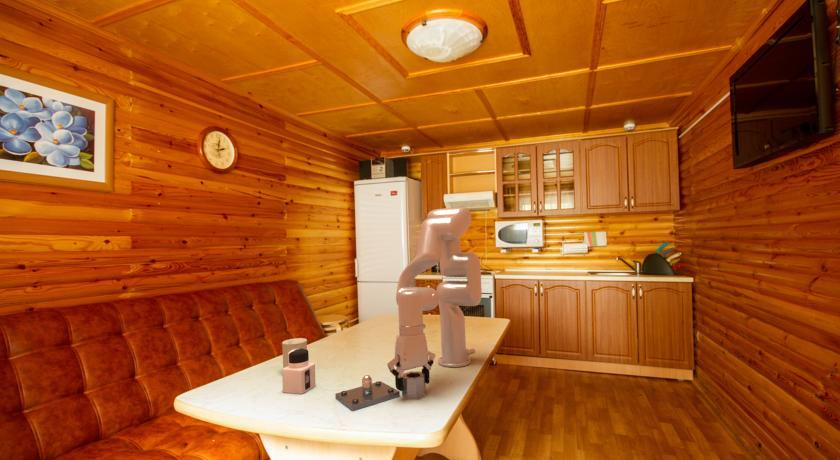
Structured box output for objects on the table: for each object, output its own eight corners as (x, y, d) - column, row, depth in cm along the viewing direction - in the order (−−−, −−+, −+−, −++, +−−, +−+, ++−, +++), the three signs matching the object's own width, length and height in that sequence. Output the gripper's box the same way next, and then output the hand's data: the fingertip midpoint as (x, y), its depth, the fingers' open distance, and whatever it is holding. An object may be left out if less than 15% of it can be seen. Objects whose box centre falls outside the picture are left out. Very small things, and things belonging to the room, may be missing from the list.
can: (277, 374, 146) (276, 342, 146) (294, 366, 155) (293, 336, 155) (297, 376, 143) (296, 343, 143) (313, 368, 151) (312, 337, 152)
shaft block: (380, 385, 129) (379, 365, 129) (399, 396, 119) (398, 374, 120) (335, 398, 120) (334, 376, 120) (352, 411, 110) (351, 387, 110)
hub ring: (417, 388, 125) (416, 370, 125) (430, 395, 119) (429, 375, 119) (398, 394, 121) (397, 375, 121) (411, 401, 115) (410, 380, 115)
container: (316, 385, 132) (314, 347, 132) (302, 394, 125) (300, 353, 125) (297, 384, 134) (295, 346, 135) (282, 392, 127) (281, 352, 127)
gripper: (426, 324, 129) (428, 377, 128) (380, 332, 119) (382, 389, 118) (440, 327, 123) (442, 382, 122) (393, 336, 113) (395, 396, 112)
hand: (413, 386), depth 120 cm, fingers open, 9 cm apart
